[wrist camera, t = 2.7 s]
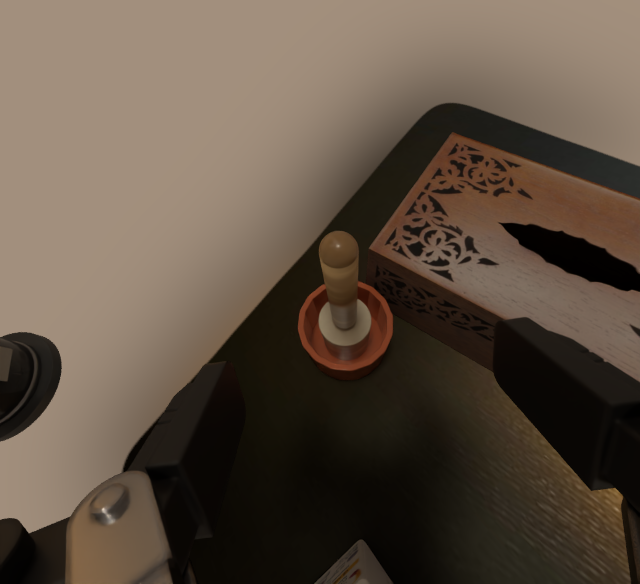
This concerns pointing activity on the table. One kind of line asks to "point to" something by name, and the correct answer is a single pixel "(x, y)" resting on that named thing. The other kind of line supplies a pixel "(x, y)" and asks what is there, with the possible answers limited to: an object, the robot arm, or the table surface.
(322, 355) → the brush holder
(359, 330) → the tan piece
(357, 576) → the container
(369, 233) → the table surface
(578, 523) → the table surface
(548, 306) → the tissue box cover
